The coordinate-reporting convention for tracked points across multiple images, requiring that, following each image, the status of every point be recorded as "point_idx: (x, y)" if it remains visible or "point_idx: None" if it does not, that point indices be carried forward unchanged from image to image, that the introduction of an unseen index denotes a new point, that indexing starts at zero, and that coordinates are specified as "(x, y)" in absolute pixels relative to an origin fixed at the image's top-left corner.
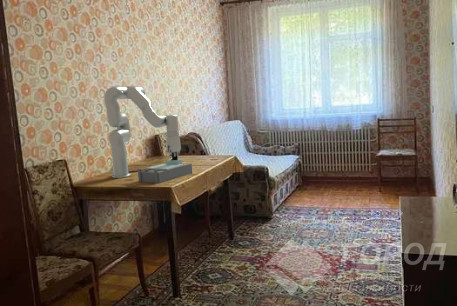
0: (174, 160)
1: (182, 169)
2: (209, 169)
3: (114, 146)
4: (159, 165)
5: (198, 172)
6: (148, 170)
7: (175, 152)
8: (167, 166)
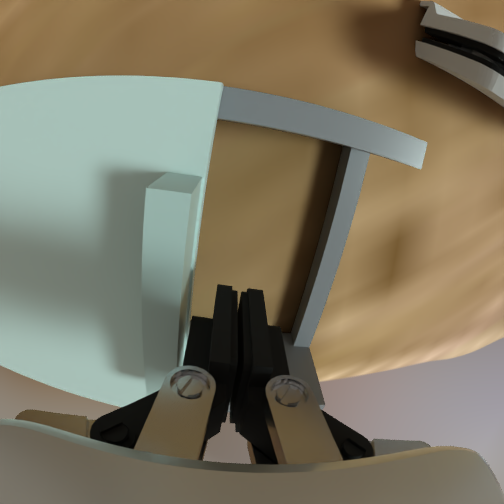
0: (147, 376)
1: None
2: (451, 356)
3: None
4: (38, 133)
5: (370, 350)
6: None
7: (324, 461)
8: (18, 307)
